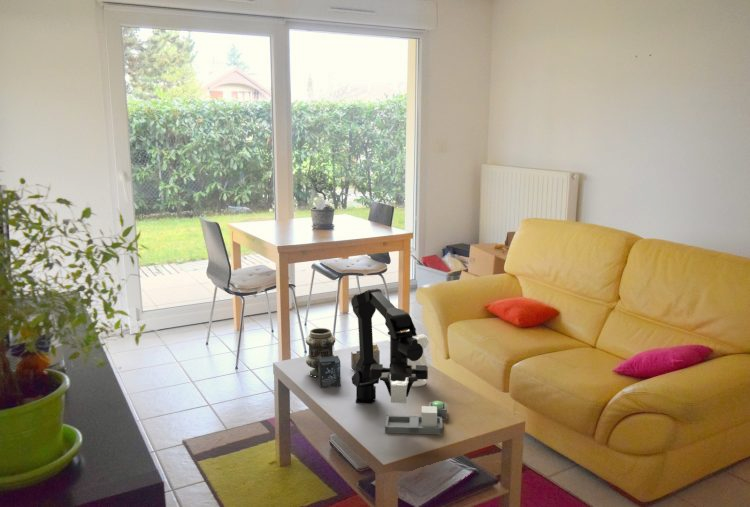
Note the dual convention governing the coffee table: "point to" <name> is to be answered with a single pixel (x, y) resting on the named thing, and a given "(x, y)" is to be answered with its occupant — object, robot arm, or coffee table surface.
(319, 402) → the coffee table surface
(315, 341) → the ornate grey-brown vase
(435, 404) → the button
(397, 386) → the block
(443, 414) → the switch box
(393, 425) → the pallet
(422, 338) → the cherub figurine
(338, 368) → the box
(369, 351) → the robot arm
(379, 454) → the coffee table surface
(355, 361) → the architectural model on board
